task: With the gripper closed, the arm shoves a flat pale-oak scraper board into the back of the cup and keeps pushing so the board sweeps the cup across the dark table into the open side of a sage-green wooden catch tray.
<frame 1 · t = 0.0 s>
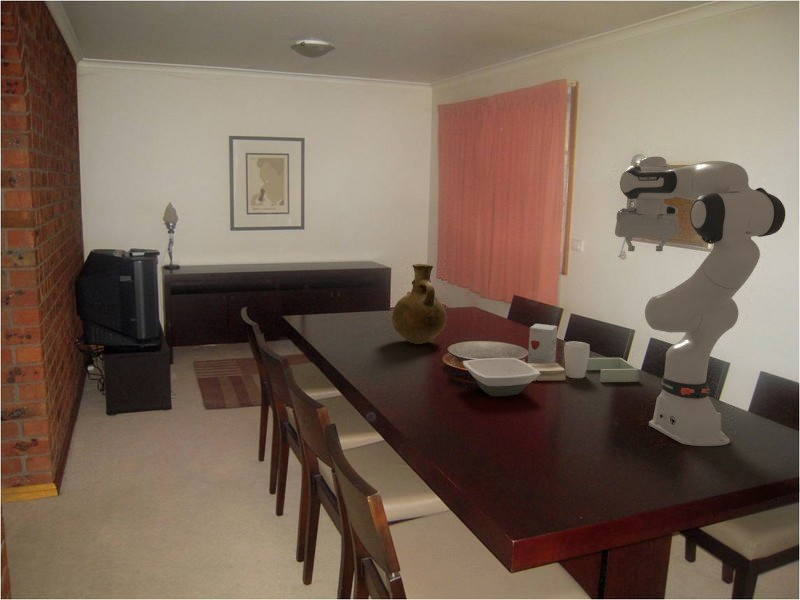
hand: (645, 251, 206), 48 cm above the table, fingers open, 8 cm apart
bowl: (499, 391, 214), on the table
vase: (418, 343, 278), on the table
scraper board: (544, 377, 231), on the table
catch tray: (610, 375, 233), on the table
supplement box: (541, 363, 248), on the table
cup: (575, 376, 232), on the table
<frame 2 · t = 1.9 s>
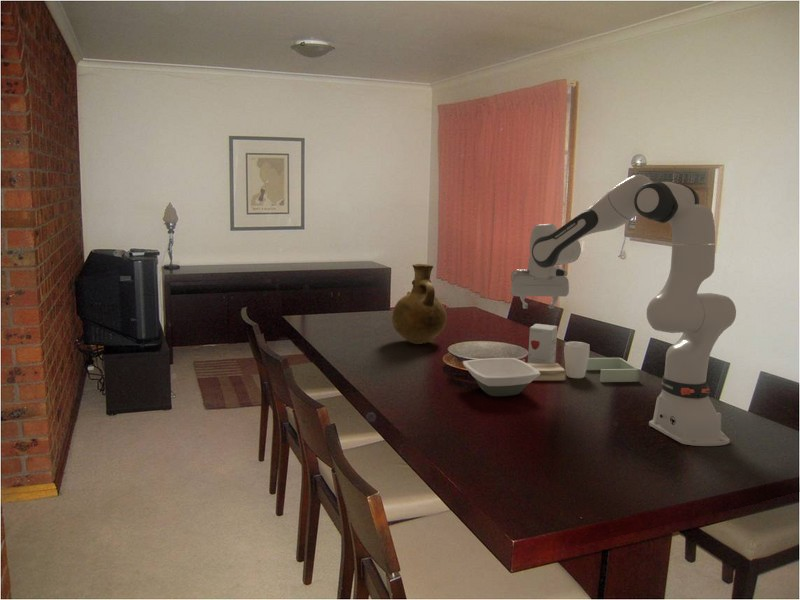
hand: (538, 308, 223), 26 cm above the table, fingers open, 8 cm apart
nothing on the table moved.
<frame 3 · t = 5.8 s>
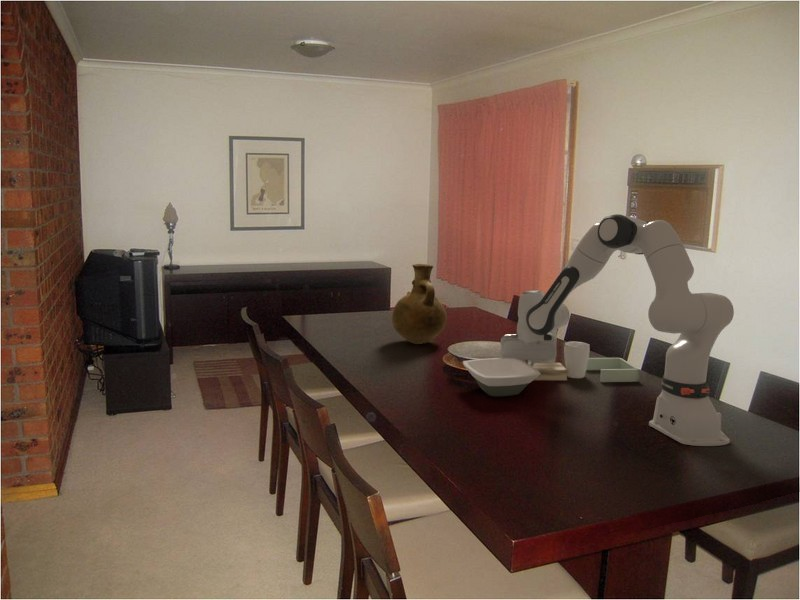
hand: (527, 371, 230), 2 cm above the table, fingers closed
scraper board: (546, 376, 231), on the table, touching gripper
everything else where it was.
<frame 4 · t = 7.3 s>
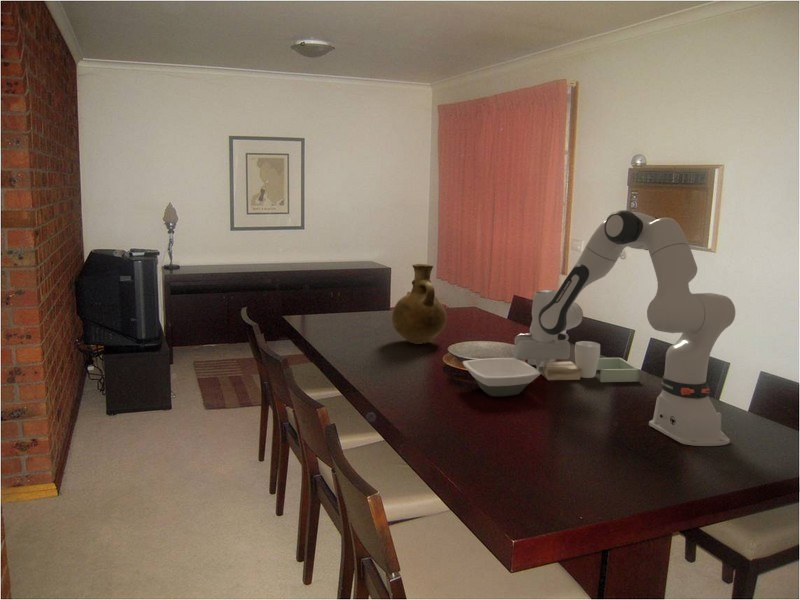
hand: (540, 370, 230), 2 cm above the table, fingers closed
scraper board: (559, 375, 232), on the table, touching gripper
cup: (585, 376, 232), on the table
everything else where it was.
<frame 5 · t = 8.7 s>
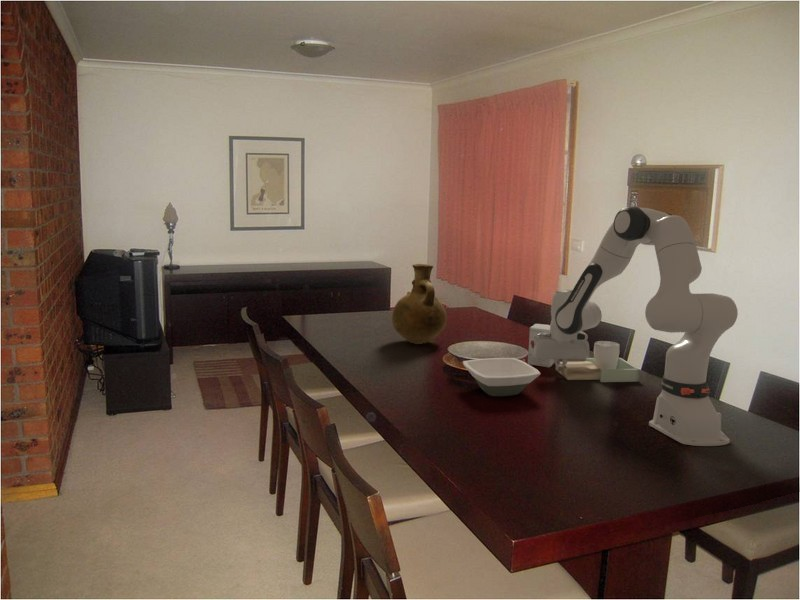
hand: (559, 370, 231), 2 cm above the table, fingers closed
scraper board: (578, 375, 232), on the table, touching gripper
cup: (604, 375, 233), on the table
everything else where it was.
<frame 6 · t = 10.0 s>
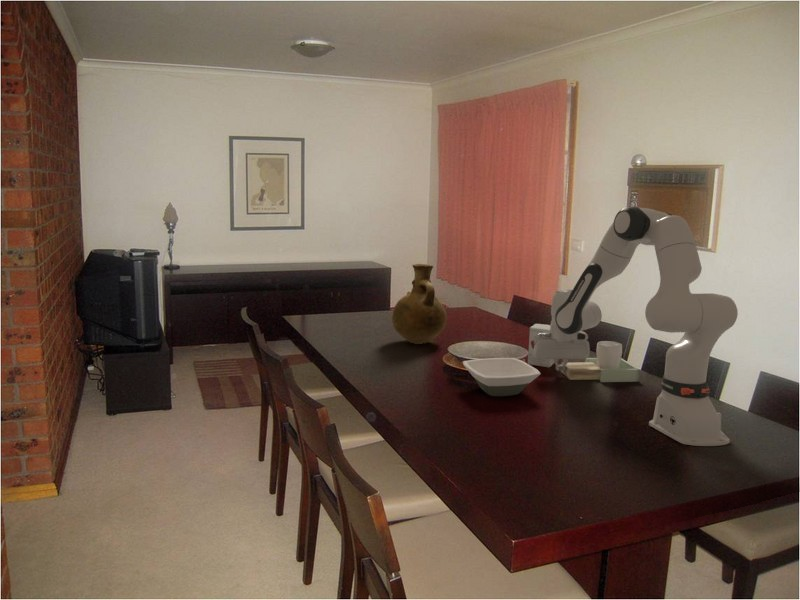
hand: (560, 370, 231), 2 cm above the table, fingers closed
scraper board: (581, 376, 233), on the table
cup: (607, 375, 233), on the table
everything else where it was.
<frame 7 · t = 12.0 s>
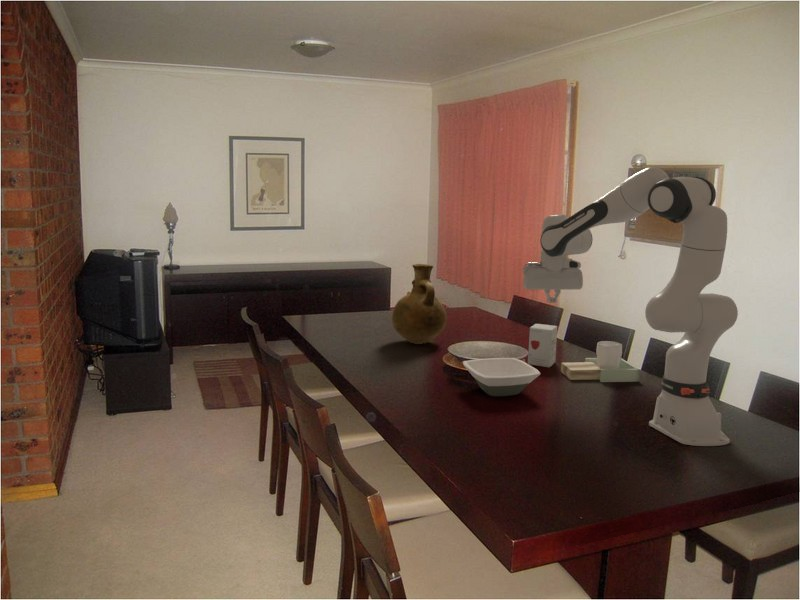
hand: (551, 302, 217), 29 cm above the table, fingers closed
nothing on the table moved.
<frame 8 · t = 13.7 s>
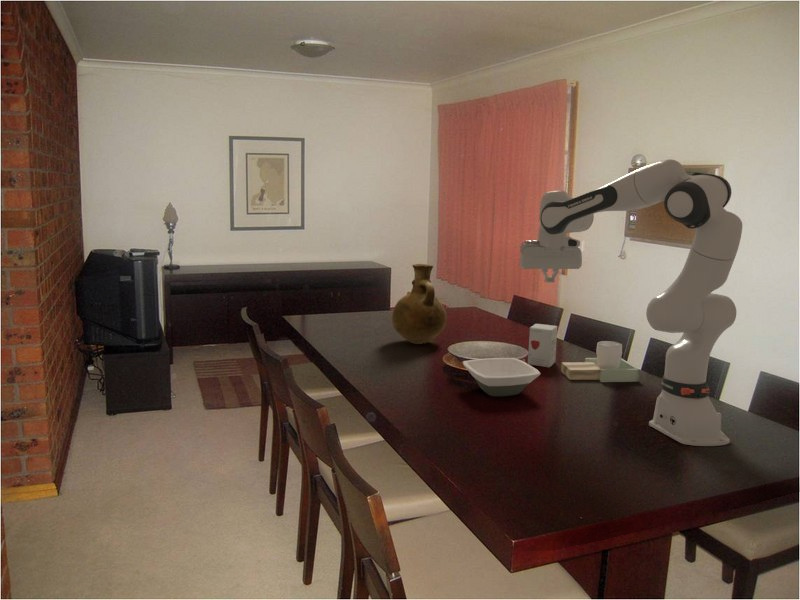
hand: (549, 282, 209), 37 cm above the table, fingers closed
nothing on the table moved.
at the end: cup inside the target area on the catch tray (1.5 cm from its centre), point 0.0 cm above the catch tray's base; cup tilted 0° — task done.
